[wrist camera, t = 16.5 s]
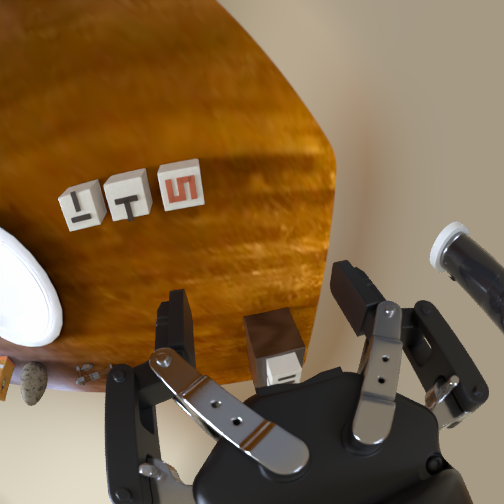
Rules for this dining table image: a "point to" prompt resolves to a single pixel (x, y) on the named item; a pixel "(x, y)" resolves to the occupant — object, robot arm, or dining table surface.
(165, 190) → the tile
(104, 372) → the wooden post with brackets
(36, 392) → the decorative egg
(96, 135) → the dining table surface
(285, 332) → the tile rack
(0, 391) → the supplement box
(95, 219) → the letter cube pair
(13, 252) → the plate
